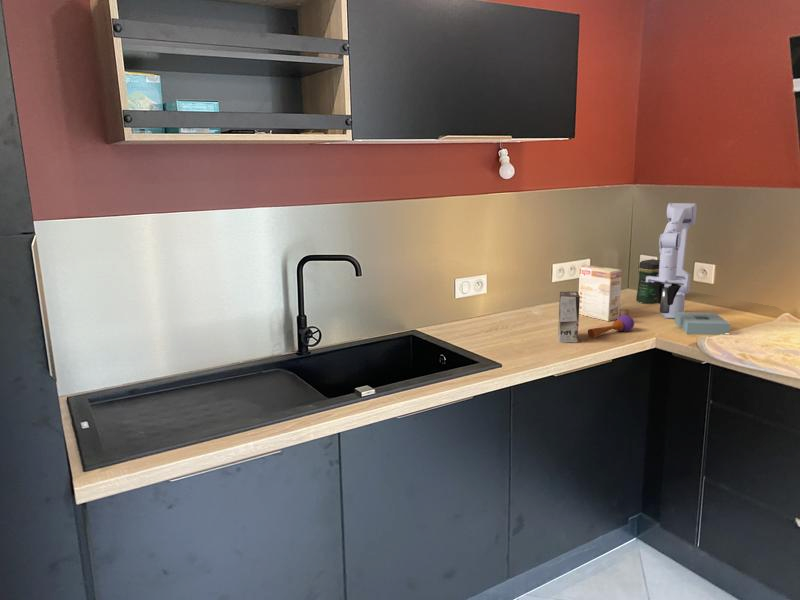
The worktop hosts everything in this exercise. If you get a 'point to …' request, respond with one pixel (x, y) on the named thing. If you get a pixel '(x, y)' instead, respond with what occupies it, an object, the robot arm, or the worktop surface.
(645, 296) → the coffee jar
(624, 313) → the short pin
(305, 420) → the worktop surface
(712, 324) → the hole block
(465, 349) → the worktop surface
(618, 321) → the kendama
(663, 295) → the long pin
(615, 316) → the coffeecake box
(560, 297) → the coffee box
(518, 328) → the worktop surface
